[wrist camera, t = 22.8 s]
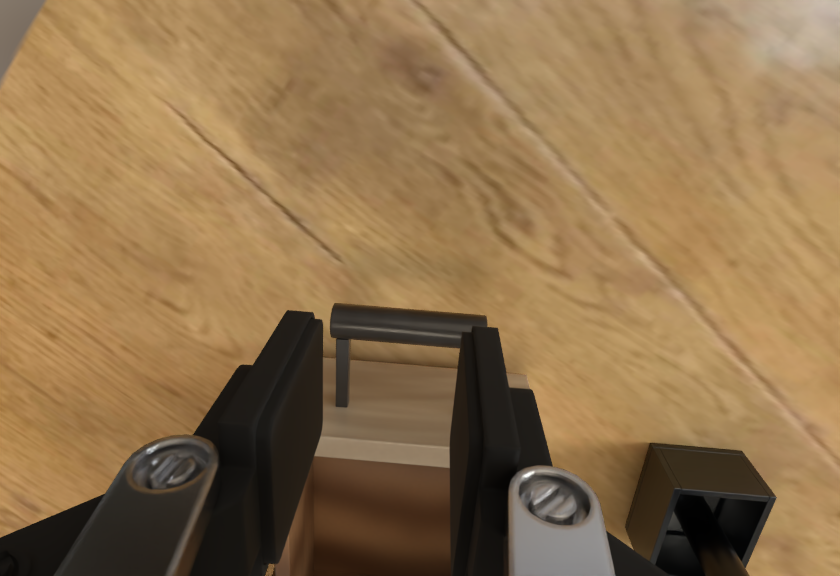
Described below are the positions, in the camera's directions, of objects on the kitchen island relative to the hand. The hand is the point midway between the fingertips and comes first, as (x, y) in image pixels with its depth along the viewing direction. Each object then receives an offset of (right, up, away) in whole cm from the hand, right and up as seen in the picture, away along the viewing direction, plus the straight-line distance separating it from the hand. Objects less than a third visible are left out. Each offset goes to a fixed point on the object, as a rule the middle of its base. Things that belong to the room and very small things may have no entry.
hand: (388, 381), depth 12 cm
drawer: (0, -7, +21) cm, 22 cm away
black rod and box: (+17, -11, +23) cm, 30 cm away
